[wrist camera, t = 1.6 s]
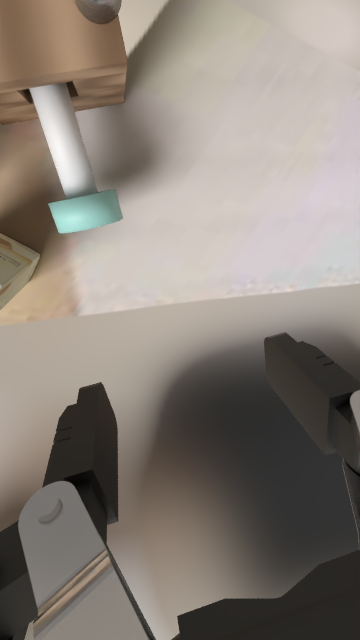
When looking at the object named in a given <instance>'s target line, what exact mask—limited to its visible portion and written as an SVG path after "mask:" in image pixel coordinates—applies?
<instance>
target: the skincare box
mask: <svg viewBox="0 0 360 640" xmlns="http://www.w3.org/2000/svg"><path fill="white" fill-rule="evenodd" d="M39 258H40V254H39V253H37V252H35V251H33V250H32V249H30V248H28V247H26V246H24V245H23V244H21V243H19V242H17V241H15V240H13V239H11V238H9V237H7V236H5V235H3V234H1V233H0V310H1V309H2V308H3V307H4V306H5V305H6V304H7V303H8V302H9V301H10V300H11V299H12V298H13V297H14V296H15V295H16V294H17V293H18V292H19V291H20V290H21V289H22V288H23V287H24V286H25V285H26V284H27V283H28V281H29V279H30V277H31V275H32V274H33V272H34V270H35V268H36V265H37V263H38V261H39Z"/></svg>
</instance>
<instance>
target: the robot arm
mask: <svg viewBox="0 0 360 640" xmlns="http://www.w3.org/2000/svg"><path fill="white" fill-rule="evenodd" d="M264 348H265V366H266V374H267V377H268V380H269V382H270V384H271V386H272V387H273V388H274V390H275V391H276V392H277V394H278V395H279V396H280V398H281V399H282V400H283V401H284V403H285V404H286V405H287V406H288V408H289V409H290V410H291V412H292V413H293V414H294V416H295V417H296V418H297V419H298V421H299V422H300V423H301V425H302V426H303V427H304V428H305V430H306V431H307V432H308V433H309V435H310V436H311V437H312V439H313V440H314V441H315V443H316V444H317V445H318V447H319V448H320V449H321V450H322V451H323V453H324V454H325V455H328V454H331V453H334V452H339V453H340V455H341V456H342V457H343V469H344V474H345V478H346V482H347V486H348V490H349V495H350V499H351V504H352V508H353V512H354V516H355V521H356V525H357V529H358V537H359V550H358V551H355V552H352V553H350V554H347V555H344V556H341V557H339V558H336V559H333V560H331V561H328V562H325V563H322V564H319V565H318V566H317V567H316V568H315V569H313V570H312V571H311V572H310V573H309V574H308V575H307V576H305V577H304V578H303V579H302V580H301V581H300V582H298V583H297V584H296V585H295V586H294V587H293V588H292V589H290V590H289V591H288V592H287V593H286V594H284V595H283V596H282V597H279V598H274V599H223V600H220V601H217V602H215V603H212V604H209V605H207V606H204V607H201V608H198V609H195V610H193V611H190V612H187V613H184V614H182V615H179V616H177V617H178V624H179V631H180V633H179V634H178V635H176V636H175V637H174V638H173V639H172V640H360V382H359V381H357V380H356V379H355V378H354V377H353V376H351V375H350V374H349V373H348V372H346V371H345V370H344V369H342V368H341V367H340V366H339V365H338V364H336V363H334V361H333V360H331V359H330V358H329V357H326V355H325V354H324V353H323V352H322V351H320V350H319V349H318V348H317V347H315V346H313V345H310V344H307V343H305V342H303V341H302V342H298V343H297V342H296V341H295V340H294V339H293V338H292V337H290V336H289V335H288V334H287V333H281V334H277V335H273V336H270V337H266V338H265V340H264ZM117 436H118V431H117V422H116V418H115V414H114V411H113V409H112V406H111V404H110V401H109V399H108V396H107V394H106V391H105V388H104V386H103V384H102V383H101V382H100V383H96V384H93V385H89V386H85V387H82V388H80V389H79V394H78V399H77V404H74V405H70V406H67V408H66V409H65V411H64V412H63V414H62V415H61V417H60V418H59V421H58V425H57V429H56V434H55V438H54V445H53V446H52V450H51V454H50V458H49V462H48V466H47V470H46V474H45V479H44V483H43V487H42V489H40V490H39V491H38V492H36V493H35V494H34V495H33V496H32V497H31V499H30V500H29V501H28V502H27V504H26V505H25V507H24V508H23V510H22V512H21V515H20V518H19V520H18V521H17V522H15V523H14V524H12V525H11V526H9V527H8V528H6V529H4V530H3V531H1V532H0V640H24V639H25V635H26V631H27V628H28V624H29V623H30V622H32V621H33V620H34V619H35V618H36V619H35V620H34V622H33V636H34V640H156V638H155V637H154V635H153V633H152V631H151V629H150V627H149V625H148V623H147V621H146V619H145V618H144V616H143V614H142V612H141V610H140V608H139V606H138V604H137V602H136V600H135V598H134V596H133V594H132V592H131V590H130V588H129V586H128V585H127V582H126V580H125V578H124V576H123V574H122V573H121V571H120V569H119V567H118V565H117V563H116V561H115V559H114V557H113V555H112V553H111V551H110V549H109V547H108V545H107V543H106V541H107V525H109V524H112V523H115V522H118V437H117Z"/></svg>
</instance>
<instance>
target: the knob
mask: <svg viewBox="0 0 360 640" xmlns="http://www.w3.org/2000/svg"><path fill="white" fill-rule="evenodd" d="M29 89H30V92H31V95H32V98H33V101H34V104H35V107H36V110H37V113H38V116H39V119H40V122H41V125H42V128H43V131H44V134H45V137H46V140H47V143H48V146H49V149H50V152H51V155H52V158H53V161H54V164H55V167H56V170H57V173H58V176H59V178H60V181H61V184H62V187H63V190H64V193H65V196H66V199H65V200H61V201H56V202H52V203H48V205H49V207H50V210H51V213H52V216H53V218H54V221H55V224H56V227H57V229H58V232H59V233H70V232H77V231H82V230H87V229H91V228H96V227H100V226H103V225H107V224H110V223H113V222H116V221H119V220H121V219H122V218H123V217H122V213H121V209H120V205H119V201H118V198H117V194H116V190H115V189H114V190H109V191H104V192H99V193H98V192H97V188H96V185H95V181H94V178H93V174H92V171H91V167H90V164H89V161H88V157H87V154H86V150H85V147H84V143H83V140H82V136H81V133H80V129H79V126H78V122H77V119H76V115H75V112H74V108H73V105H72V102H71V98H70V95H69V91H68V88H67V84H66V82H64V83H58V84H52V85H46V86H41V87H35V88H29Z"/></svg>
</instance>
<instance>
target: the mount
mask: <svg viewBox="0 0 360 640" xmlns="http://www.w3.org/2000/svg"><path fill="white" fill-rule="evenodd" d="M127 63H128V61H127V56H126V51H125V47H124V42H123V37H122V32H121V27H120V22H119V18H118V15H117V16H116V17H115V19H114V20H113V21H111V22H110V23H107V24H103V25H100V24H95V23H93V22H91V21H89V20H88V19H87V18H85V17H84V16H83V15H82V13H81V12H80V11H79V9H78V8H77V6H76V4H75V1H74V0H0V123H1V124H8V123H14V122H19V121H25V120H30V119H36V118H39V116H38V113H37V110H36V107H35V104H34V101H33V98H32V95H31V92H30V89H29V88H35V87H41V86H46V85H52V84H58V83H64V82H66V84H67V88H68V91H69V95H70V98H71V102H72V105H73V108H74V112H75V111H80V110H86V109H92V108H97V107H103V106H108V105H114V104H119V103H124V96H125V85H126V74H127Z"/></svg>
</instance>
